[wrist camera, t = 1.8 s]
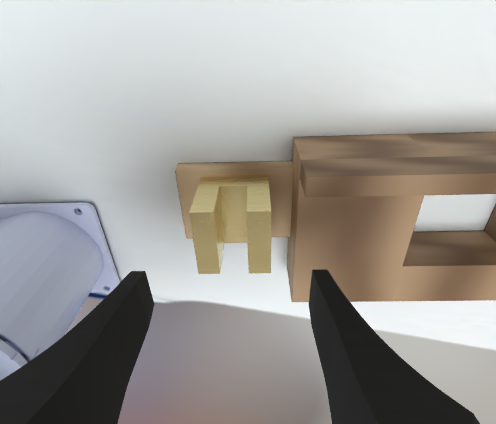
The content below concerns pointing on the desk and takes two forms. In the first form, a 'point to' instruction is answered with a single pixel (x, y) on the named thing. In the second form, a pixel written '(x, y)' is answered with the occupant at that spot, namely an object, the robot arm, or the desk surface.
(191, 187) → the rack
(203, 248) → the clip
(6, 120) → the desk surface
